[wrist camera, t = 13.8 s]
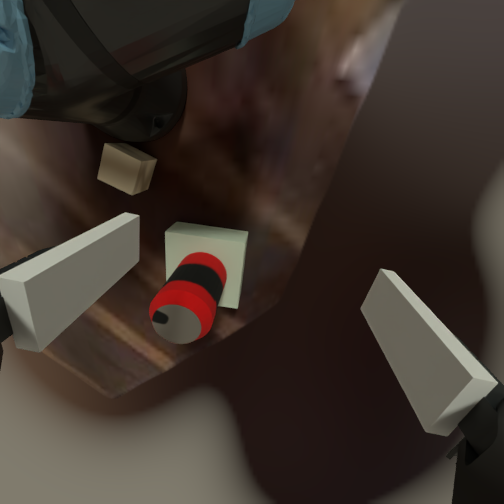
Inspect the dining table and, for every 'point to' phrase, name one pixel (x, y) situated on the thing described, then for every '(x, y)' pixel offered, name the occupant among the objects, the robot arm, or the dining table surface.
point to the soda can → (189, 299)
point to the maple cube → (126, 168)
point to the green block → (213, 242)
